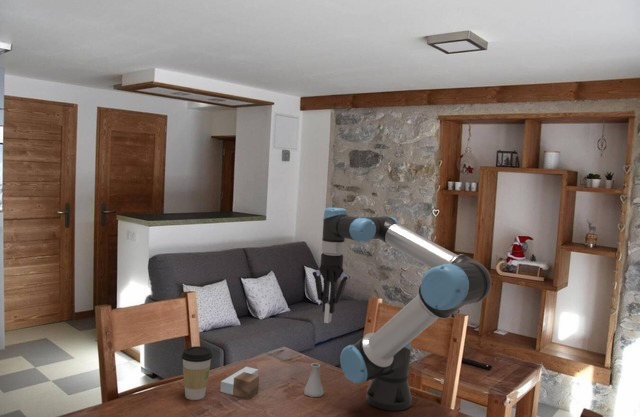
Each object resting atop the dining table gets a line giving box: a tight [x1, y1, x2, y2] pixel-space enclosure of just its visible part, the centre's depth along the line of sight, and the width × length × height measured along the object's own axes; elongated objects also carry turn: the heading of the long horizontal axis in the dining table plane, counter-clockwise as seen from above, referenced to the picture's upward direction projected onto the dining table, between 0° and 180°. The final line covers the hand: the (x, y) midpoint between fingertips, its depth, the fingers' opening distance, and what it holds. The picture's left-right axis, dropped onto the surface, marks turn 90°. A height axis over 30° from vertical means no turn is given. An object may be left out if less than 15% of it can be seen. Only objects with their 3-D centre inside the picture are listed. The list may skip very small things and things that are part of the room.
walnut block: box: [232, 372, 260, 400], centre depth 179 cm, size 6×6×6 cm
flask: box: [303, 362, 325, 398], centre depth 183 cm, size 7×7×10 cm
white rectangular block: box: [219, 366, 259, 396], centre depth 185 cm, size 5×16×4 cm, turn 156°
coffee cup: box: [181, 345, 213, 401], centre depth 174 cm, size 10×10×15 cm
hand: (327, 321), depth 183 cm, fingers closed
